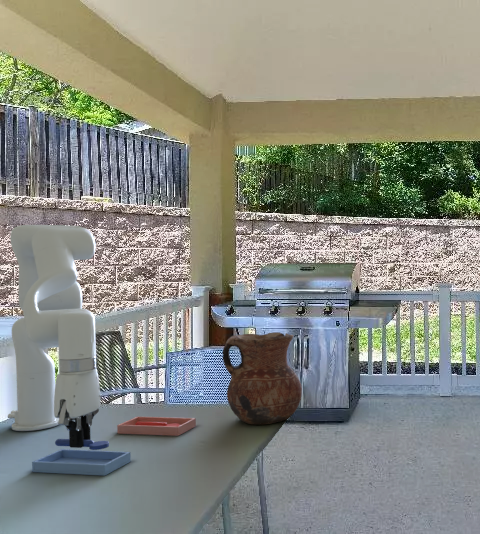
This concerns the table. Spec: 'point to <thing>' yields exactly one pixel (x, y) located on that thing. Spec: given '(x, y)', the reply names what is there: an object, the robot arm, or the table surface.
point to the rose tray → (131, 428)
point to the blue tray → (81, 462)
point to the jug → (262, 379)
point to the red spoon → (156, 424)
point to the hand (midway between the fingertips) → (80, 445)
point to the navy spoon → (85, 444)
